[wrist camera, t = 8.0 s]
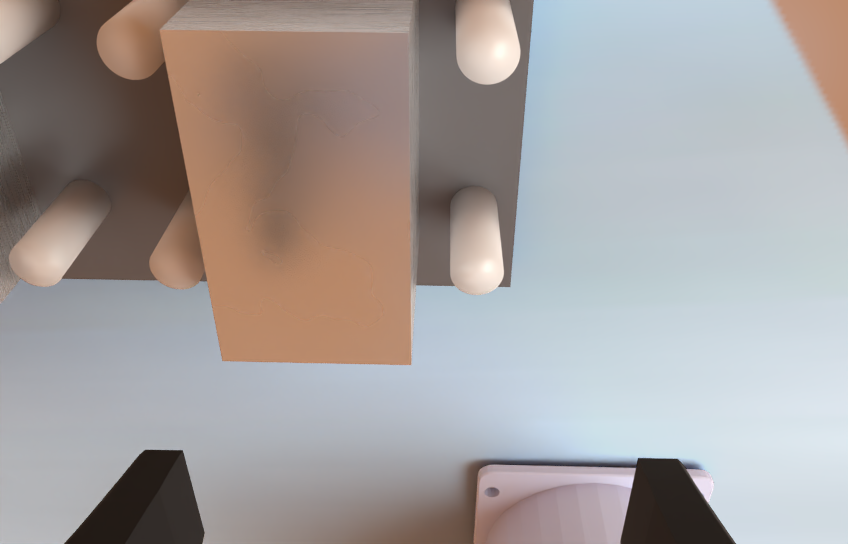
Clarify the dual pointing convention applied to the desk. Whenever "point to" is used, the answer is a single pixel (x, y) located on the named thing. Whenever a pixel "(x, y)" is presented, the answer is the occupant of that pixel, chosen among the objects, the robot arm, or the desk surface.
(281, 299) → the tan rectangular block
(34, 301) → the desk surface
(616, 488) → the robot arm
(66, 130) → the grey peg board
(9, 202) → the light wooden block
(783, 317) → the desk surface
